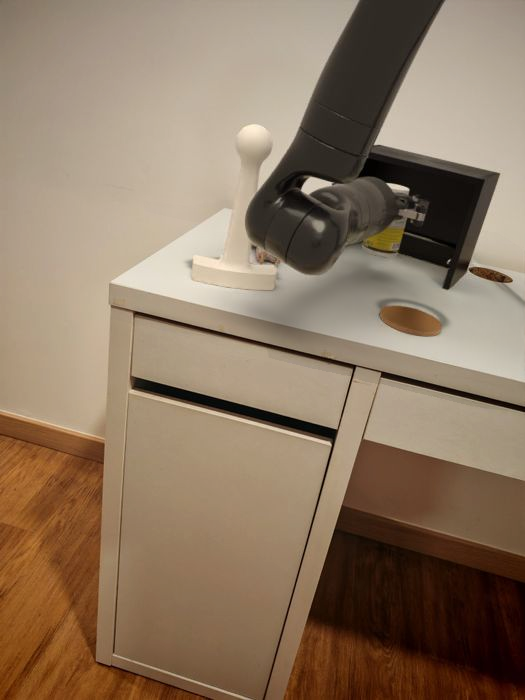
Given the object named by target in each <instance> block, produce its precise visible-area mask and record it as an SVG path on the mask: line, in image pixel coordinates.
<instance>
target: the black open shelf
mask: <svg viewBox="0 0 525 700" xmlns="http://www.w3.org/2000/svg"><path fill="white" fill-rule="evenodd" d="M500 176H501V173H500V172H497V171H492V170H489V169H484V168H480V167H476V166H471V165H467V164H464V163H458V162H454V161H450V160H446V159H442V158H438V157H433V156H429V155H425V154H420V153H417V152H412V151H408V150H404V149H400V148H395V147H391V146H386V145H383V144H374V145H373V147H372V150H371V152H370V154H369V155H368V158H367V160H366V162H365V165H364V167H363V169H362V171H361V172H360V174H359V176H358V177H357V178H361V177H375V178H378V179H381V180H382V181H384V182H385V183H390V184H396V185H401V186H404V187H407V188H409V194H408V195H409V196H413V195H416V194H418V195H421V199H424V200H427V201H428V202H430V203H429V206H428V210H427V213H426V217H425V220H424V223H423V225H422V226H421V227H420V226H419V227H416V226H415V225H413V223H412V222H410V221H411V218H407V221H406V224H405V228H404V232H403V235H402V239H401V243H400V247H399V250H398V254H400V255H403V256H407V257H410V258H412V259H416V260H419V261H422V262H425V263H429V264H433V265H435V266H437V267H442V268H444V269H448V270H447V273H446V276H445V279H444V282H443V284H442V289H444V290H447V291H448V290H449V291H450V289H451V288H452V287H453V286H454V285H456V284H457V282H458V281H459V280H460V279H462V278H463V277H464V276H465V275H466V274H467V273H468V269H469V266H470V265H471V261H472V258H473V255H474V252H475V249H476V246H477V244H478V240H479V237H480V234H481V231H482V228H483V226H484V222H485V220H486V218H487V214H488V211H489V208H490V205H491V202H492V199H493V197H494V193H495V191H496V187H497V185H498V182H499V179H500ZM361 243H363V241H361ZM351 245H352V244H349V245H346V246H345V247H344V248H346V247H348V246H351Z"/></svg>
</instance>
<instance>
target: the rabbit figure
mask: <svg viewBox="0 0 525 700" xmlns="http://www.w3.org/2000/svg"><path fill="white" fill-rule="evenodd" d="M251 246H254V247H255V248H256V249H255V257H256V260H258V263H259V265H262V263H264V264H266V262H265V261H266V260H267V261H269V262H270V263H274V264H273V265H276V268H278V267H279V266H281V261H280V260H279V259H277V258H275V257H274V256H272V255H270V254H269V253H267V252H266V251H264V250H262V249H261V248H259V247H258V246H256V245H255V244H253V243H252V244H251ZM278 265H279V266H278Z"/></svg>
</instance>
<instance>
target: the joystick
mask: <svg viewBox="0 0 525 700" xmlns="http://www.w3.org/2000/svg"><path fill="white" fill-rule="evenodd" d="M273 145H274V144H273V138H272V135H271V133H270V132H269V130H268V129H267V128H265V127H264V126H262V125H261V124H256V123H252V124H248V125H245V126H243V127H242V128H241V129H240V130H239V131H238V133H237V136H236V138H235V149H236V152H237V154H238V156H239V158H240V163H241V164H240V171H239V176H238V181H237V186H236V190H235V196H234V199H233V200H234V201H233V206H232V210H231V215H230V221H229V225H228V231H227V236H226V241H225V245H224V251H223V253H221V254H220V255H219V258H212V257H206V256H203V255H200V254H198V255H197V254H195V255H193V258H192V266H191V275H190V276H191V277H190V279H191V280H192V281H195V282H200V283H203V284H207V285H211V286H212V285H213V286H218V287H225V288H231V289H239V290H250V291H274V290H275V286H276V281H277V276H278V273H277V267H276V266H274V265H272V264H261V265H260V264H254V263H251V251H252V245H251V244H252V242H251V241H250V240H249V238H248V236H247V234H246V230H245V215H246V211H247V208H248V206H249V204H250V202H251V200H252V199H253V197H254V196H255V194H256V193H257V191H258V186H259V177H260V169H261V166H262V164H263V163H264V162H265V161H266V160H267V159H268V157H270V155H271V153H272V150H273Z"/></svg>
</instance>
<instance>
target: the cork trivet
mask: <svg viewBox="0 0 525 700" xmlns="http://www.w3.org/2000/svg"><path fill="white" fill-rule="evenodd" d="M379 319H381V321H382V322H383V323H385V324H386V325H387V326H389V327H390V328H392V329H394V330H397V331H399V332H402V333H404V334H409V335H413V336H419V337H433V336H437V335H439V334H440V333H441V331H442V329H443V324H442V322H441V321H440V320H439V319H438V318H437V317H435V316H434V315H432V314H430V313H428V312H426V311H423V310H421V309H418V308H414V307H410V306H404V305H387V306H384V307H382V308H381V309H380V312H379Z"/></svg>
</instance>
